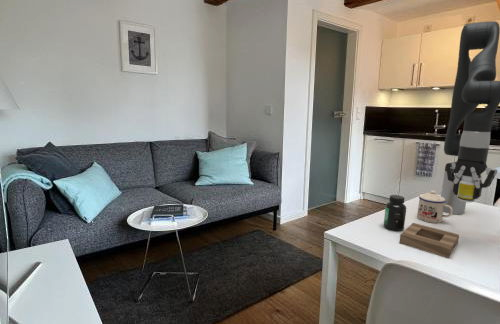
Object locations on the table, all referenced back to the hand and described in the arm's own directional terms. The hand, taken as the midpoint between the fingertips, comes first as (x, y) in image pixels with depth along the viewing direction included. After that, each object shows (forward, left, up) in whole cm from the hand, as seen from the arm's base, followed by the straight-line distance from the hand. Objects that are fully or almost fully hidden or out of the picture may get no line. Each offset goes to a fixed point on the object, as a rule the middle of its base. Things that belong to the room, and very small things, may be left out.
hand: (465, 196), depth 99 cm
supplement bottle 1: (+5, -19, -16) cm, 26 cm away
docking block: (+10, -7, -15) cm, 20 cm away
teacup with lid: (-14, -11, -16) cm, 24 cm away
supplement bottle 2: (0, 0, -2) cm, 2 cm away
